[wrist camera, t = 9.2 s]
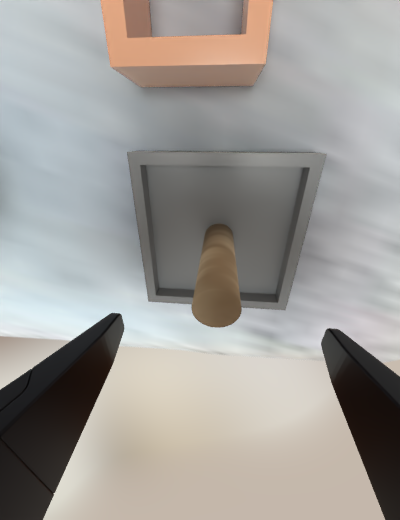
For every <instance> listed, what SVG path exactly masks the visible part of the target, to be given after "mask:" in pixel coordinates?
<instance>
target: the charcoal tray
mask: <svg viewBox="0 0 400 520" xmlns="http://www.w3.org/2000/svg"><path fill="white" fill-rule="evenodd" d="M127 155H128V162H129V169H130V176H131V183H132V190H133V197H134V204H135V211H136V218H137V225H138V232H139V239H140V246H141V253H142V259H143V266H144V273H145V280H146V287H147V294H148V301H149V302H165V303H181V304H192V301H193V296H194V291H195V285H196V280H197V274H198V269H199V264H200V258H201V253H202V247H203V242H204V237H205V232H206V230H207V229H208V228H209V227H210V226H212V225H214V224H224V225H226V226H228V227H229V228H230V229H231V231H232V233H233V240H234V249H235V258H236V266H237V275H238V284H239V292H240V301H241V307H244V308H260V309H276V310H286V306H287V302H288V298H289V295H290V291H291V287H292V283H293V279H294V276H295V272H296V268H297V264H298V260H299V257H300V253H301V249H302V245H303V241H304V238H305V234H306V230H307V226H308V222H309V219H310V215H311V211H312V207H313V203H314V200H315V196H316V192H317V188H318V184H319V181H320V177H321V173H322V169H323V165H324V162H325V158H326V154H322V153H308V152H203V151H132V152H127Z"/></svg>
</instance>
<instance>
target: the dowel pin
mask: <svg viewBox="0 0 400 520" xmlns="http://www.w3.org/2000/svg"><path fill="white" fill-rule="evenodd" d="M192 313H193V315H194V316H195V318H196V319H197V320H198V321H199V322H201V323H202V324H204V325H207V326H210V327H225V326H228V325H231V324H232V323H234V322H235V321H236V320H237V319H238V318H239V316H240V314H241V301H240V292H239V284H238V275H237V266H236V258H235V249H234V240H233V233H232V231H231V229H230V228H229V227H228V226H226V225H224V224H214V225H212V226H210V227H209V228H208V229H207V230H206V232H205V237H204V242H203V247H202V253H201V258H200V264H199V269H198V274H197V280H196V285H195V291H194V296H193V301H192Z"/></svg>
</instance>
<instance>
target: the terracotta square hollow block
mask: <svg viewBox="0 0 400 520" xmlns="http://www.w3.org/2000/svg"><path fill="white" fill-rule="evenodd" d="M272 5H273V0H243V14H242V28H241V34H238V35H206V36H173V37H152V32H151V19H150V6H149V0H101V7H102V13H103V20H104V26H105V33H106V40H107V46H108V53H109V59H110V66H111V67H112V68H113V69H114V70H116V71H117V72H119V73H120V74H122V75H123V76H125V77H126V78H128V79H129V80H131V81H132V82H134V83H135V84H137V85H138V86H140V87H204V86H253V85H254V83H255V82H256V80H257V78H258V76H259V75H260V73H261V71H262V69H263V67H264V66H265V64H266V56H267V48H268V39H269V31H270V22H271V14H272Z"/></svg>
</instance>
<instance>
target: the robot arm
mask: <svg viewBox="0 0 400 520" xmlns="http://www.w3.org/2000/svg"><path fill="white" fill-rule="evenodd" d="M123 332H124V324H123V319H122V315H121V314H119V313H111V314H109V315H108V316H106V317H105V318H103V319H102V320H101V321H99V322H98V323H96V324H95V325H93V326H92V327H91V328H89V329H88V330H86V331H85V332H83V333H82V334H80V335H79V336H78V337H76V338H75V339H73V340H72V341H70V342H69V343H68V344H66V345H65V346H63V347H62V348H60V349H59V350H58V351H56V352H55V353H53V354H52V355H50V356H49V357H47V358H46V359H45V360H43V361H42V362H40V363H39V364H37V365H36V366H35V367H33V368H32V369H30V370H29V371H27V372H26V373H24V374H23V375H21V376H20V377H19V378H17V379H16V380H14V381H13V382H11V383H10V384H8V385H7V386H5V387H4V388H2V389H1V390H0V520H43V518H44V516H45V513H46V511H47V508H48V507H49V505H50V502H51V500H52V498H53V496H54V494H53V493H55V491H56V489H57V486H58V484H59V482H60V480H61V478H62V475H63V473H64V471H65V469H66V466H67V464H68V462H69V460H70V458H71V455H72V453H73V451H74V449H75V447H76V444H77V442H78V440H79V438H80V436H81V433H82V431H83V429H84V427H85V425H86V422H87V420H88V418H89V416H90V413H91V411H92V409H93V407H94V404H95V402H96V400H97V398H98V396H99V394H100V391H101V389H102V387H103V385H104V383H105V380H106V378H107V376H108V373H109V371H110V369H111V367H112V365H113V362H114V359H115V356H116V353H117V350H118V347H119V344H120V341H121V338H122V335H123ZM321 346H322V350H323V354H324V357H325V361H326V365H327V368H328V372H329V375H330V379H331V382H332V385H333V388H334V390H335V393H336V395H337V398H338V401H339V403H340V406H341V408H342V411H343V413H344V416H345V418H346V421H347V423H348V426H349V429H350V431H351V434H352V436H353V438H354V441H355V444H356V446H357V449H358V451H359V454H360V456H361V459H362V461H363V464H364V466H365V469H366V471H367V474H368V477H369V479H370V482H371V484H372V487H373V490H374V492H375V495H376V497H377V499H378V502H379V505H380V507H381V510H382V512H383V515H384V517H385V520H400V377H399V376H398V375H397V374H396V373H394V372H393V371H392V370H390V369H389V368H388V367H387V366H385V365H384V364H383V363H381V362H380V361H379V360H378V359H376V358H375V357H374V356H372V355H371V354H370V353H369V352H367V351H366V350H365V349H363V348H362V347H361V346H360V345H358V344H357V343H356V342H354V341H353V340H352V339H351V338H349V337H348V336H347V335H345V334H344V333H343V332H342V331H340V330H339V329H331V328H329V329H327V330H326V332H325V334H324V337H323V339H322V342H321Z"/></svg>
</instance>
